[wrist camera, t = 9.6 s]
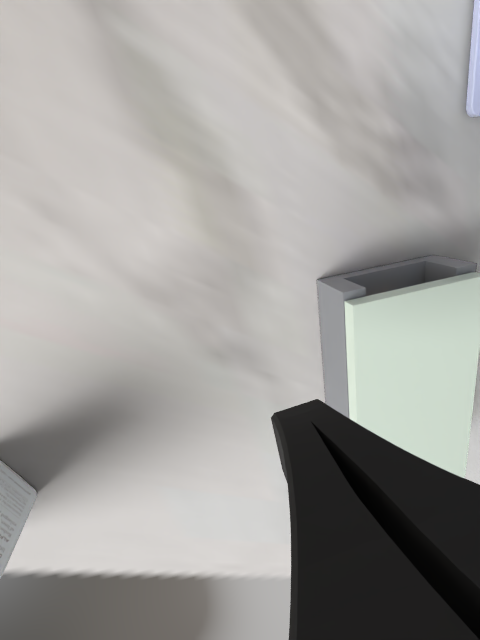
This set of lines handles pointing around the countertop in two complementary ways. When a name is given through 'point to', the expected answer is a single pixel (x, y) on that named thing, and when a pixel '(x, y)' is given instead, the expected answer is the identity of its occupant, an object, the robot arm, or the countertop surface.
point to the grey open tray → (362, 285)
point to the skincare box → (12, 510)
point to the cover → (417, 366)
